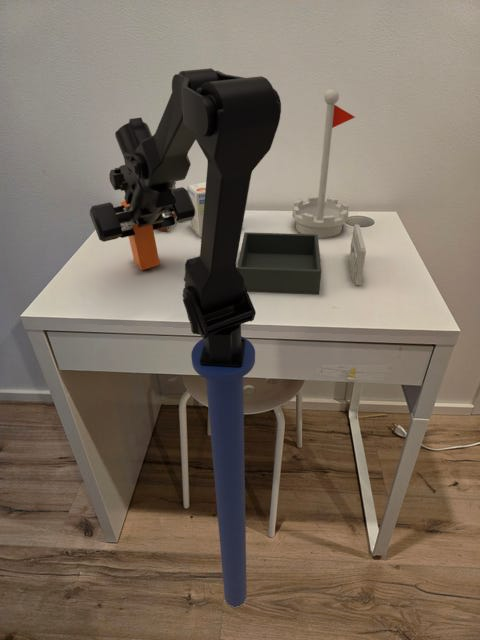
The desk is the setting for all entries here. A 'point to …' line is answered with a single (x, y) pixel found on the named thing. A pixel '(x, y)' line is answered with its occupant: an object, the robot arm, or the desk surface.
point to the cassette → (357, 255)
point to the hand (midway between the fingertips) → (138, 231)
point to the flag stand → (324, 184)
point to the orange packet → (143, 245)
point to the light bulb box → (197, 205)
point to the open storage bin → (280, 263)
